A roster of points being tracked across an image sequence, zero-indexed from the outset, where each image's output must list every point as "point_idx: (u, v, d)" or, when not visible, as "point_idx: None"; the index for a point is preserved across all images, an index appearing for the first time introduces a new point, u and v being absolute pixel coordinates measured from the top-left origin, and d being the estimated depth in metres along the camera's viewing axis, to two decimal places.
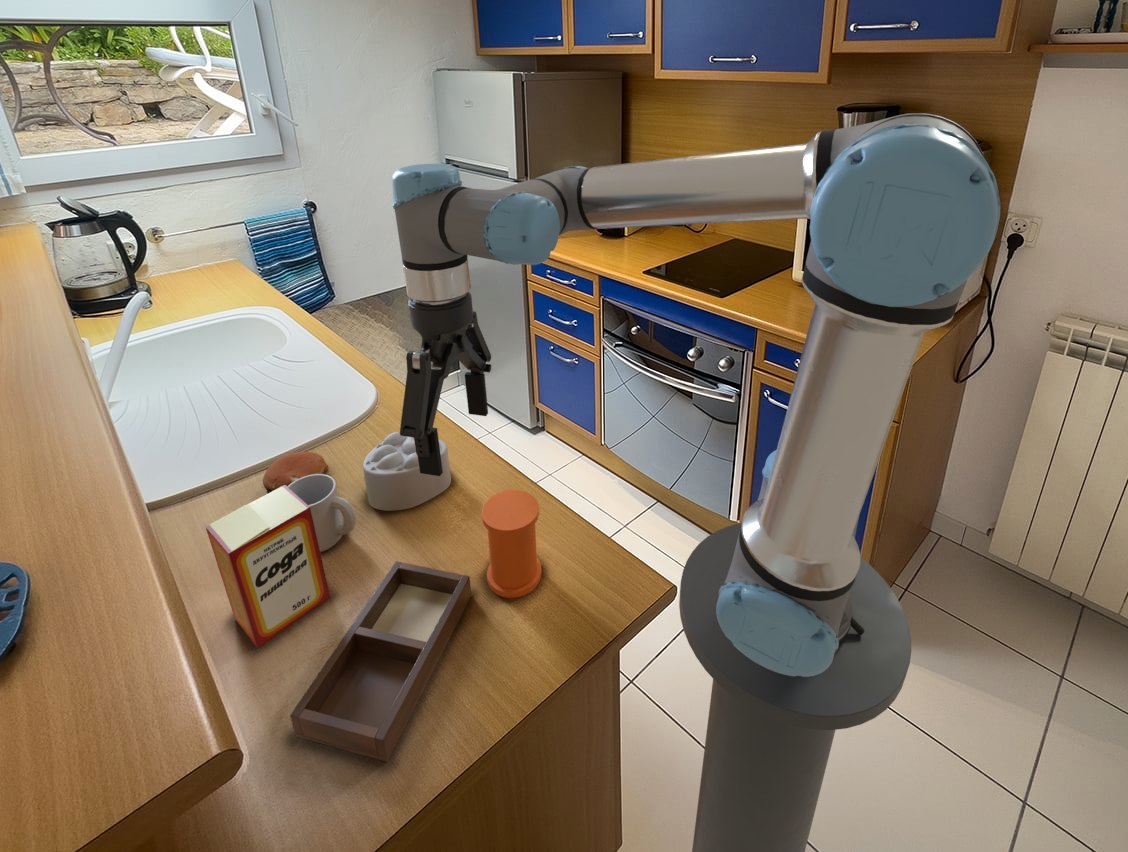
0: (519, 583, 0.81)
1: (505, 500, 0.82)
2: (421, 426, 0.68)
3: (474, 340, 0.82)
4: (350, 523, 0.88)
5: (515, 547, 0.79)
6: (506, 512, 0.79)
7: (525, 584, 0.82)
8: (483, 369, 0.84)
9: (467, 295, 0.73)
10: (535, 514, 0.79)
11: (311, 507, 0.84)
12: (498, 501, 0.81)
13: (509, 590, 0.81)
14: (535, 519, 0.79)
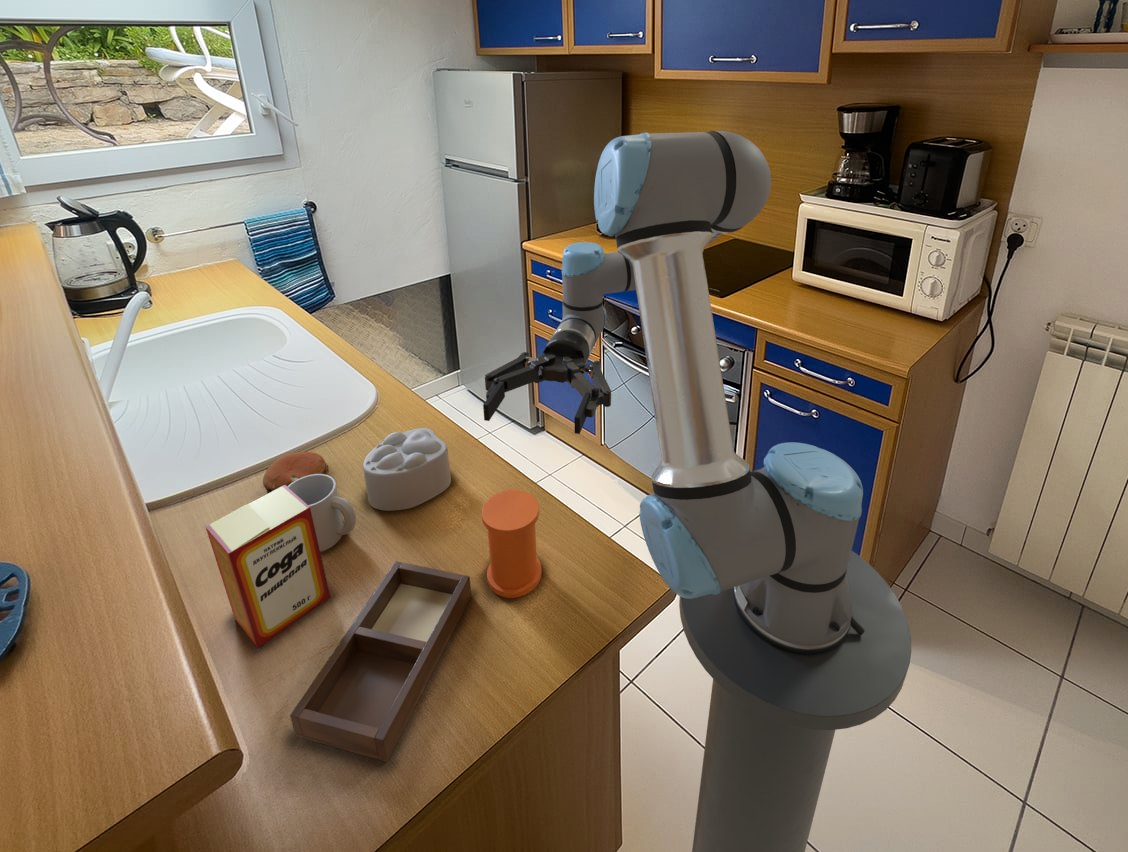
0: (519, 583, 0.81)
1: (505, 500, 0.82)
2: (491, 373, 0.94)
3: (595, 379, 0.94)
4: (350, 523, 0.88)
5: (515, 547, 0.79)
6: (506, 512, 0.79)
7: (525, 584, 0.82)
8: None
9: (574, 334, 1.03)
10: (535, 514, 0.79)
11: (311, 507, 0.84)
12: (498, 501, 0.81)
13: (509, 590, 0.81)
14: (535, 519, 0.79)
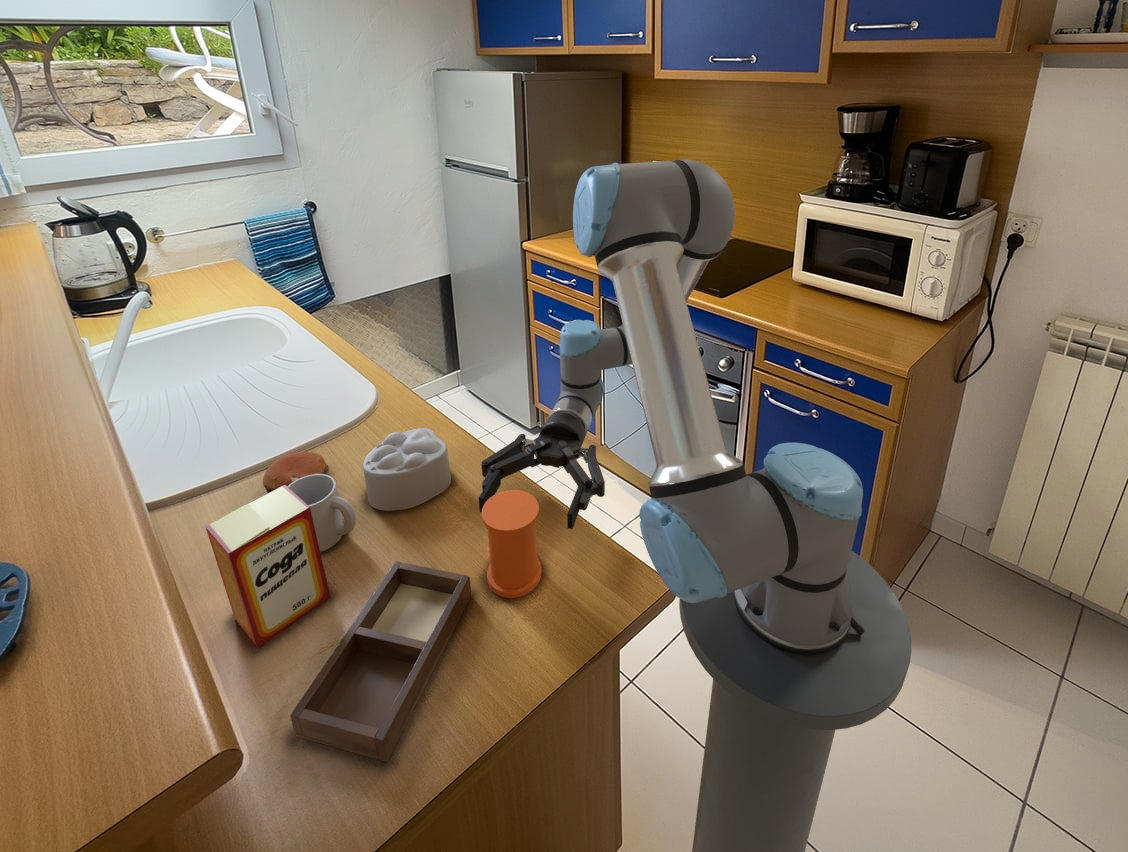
0: (519, 583, 0.81)
1: (505, 500, 0.82)
2: (488, 459, 0.96)
3: (590, 466, 0.96)
4: (350, 523, 0.88)
5: (515, 547, 0.79)
6: (506, 512, 0.79)
7: (525, 584, 0.82)
8: None
9: (571, 415, 1.04)
10: (535, 514, 0.79)
11: (311, 507, 0.84)
12: (498, 501, 0.81)
13: (509, 590, 0.81)
14: (535, 519, 0.79)
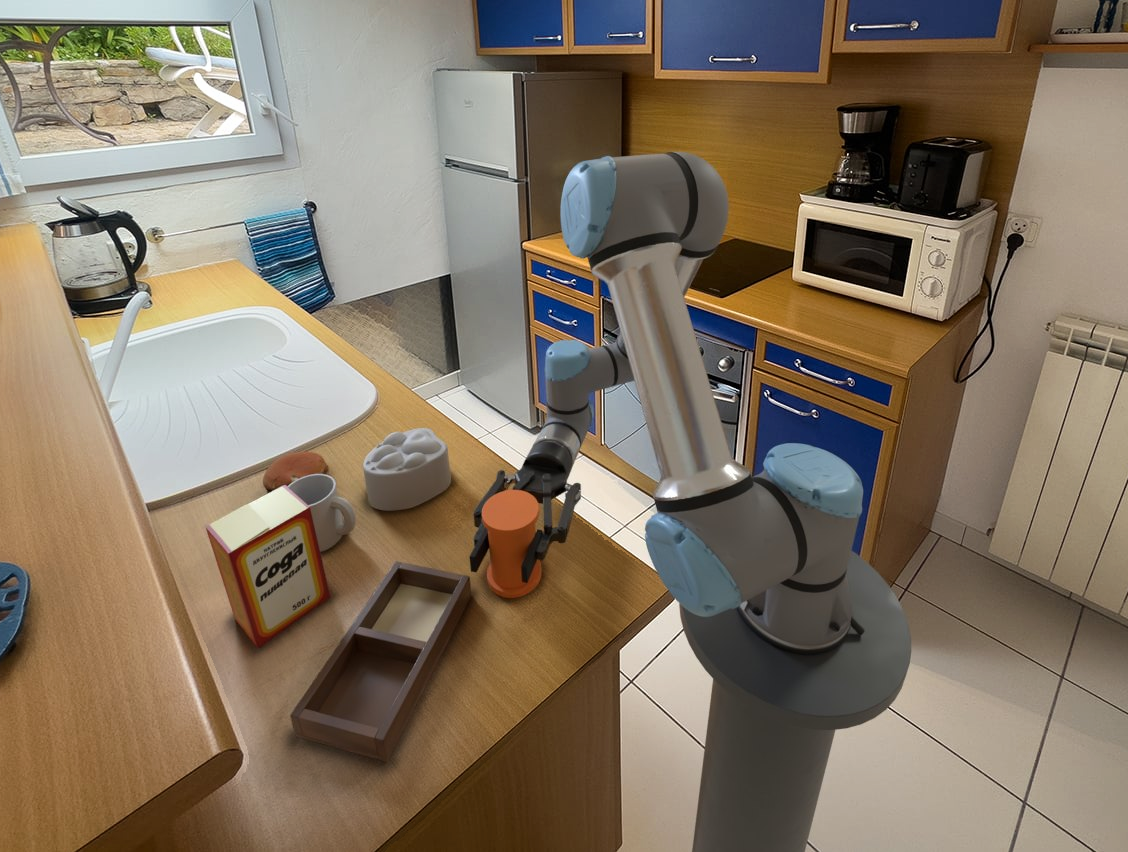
0: (519, 583, 0.81)
1: (505, 500, 0.82)
2: (479, 507, 0.86)
3: None
4: (350, 523, 0.88)
5: (515, 547, 0.79)
6: (506, 512, 0.79)
7: (525, 584, 0.82)
8: None
9: None
10: (535, 514, 0.79)
11: (311, 507, 0.84)
12: (498, 501, 0.81)
13: (509, 590, 0.81)
14: (535, 519, 0.79)
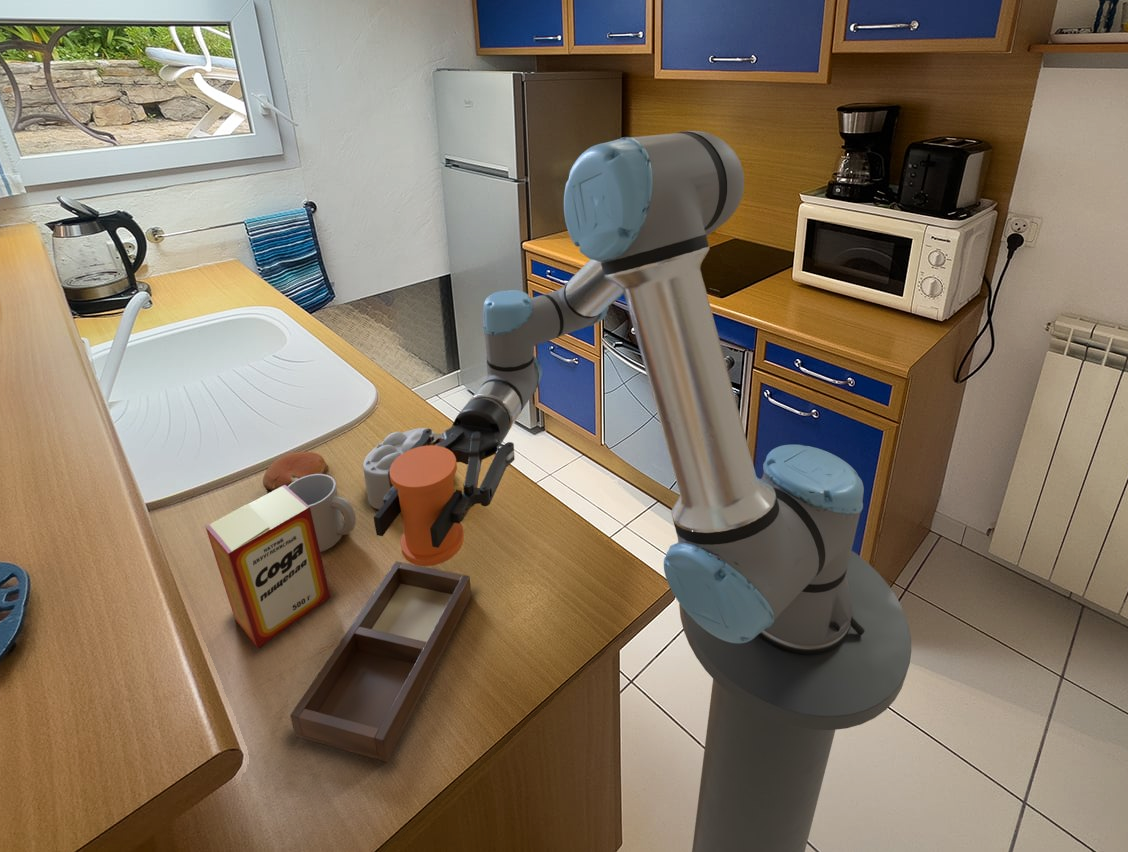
0: (434, 550, 0.72)
1: (419, 456, 0.72)
2: None
3: None
4: (350, 523, 0.88)
5: (426, 507, 0.69)
6: (418, 468, 0.70)
7: (442, 551, 0.72)
8: None
9: (492, 402, 0.87)
10: (450, 470, 0.70)
11: (311, 507, 0.84)
12: (411, 457, 0.72)
13: (423, 557, 0.72)
14: (450, 476, 0.69)
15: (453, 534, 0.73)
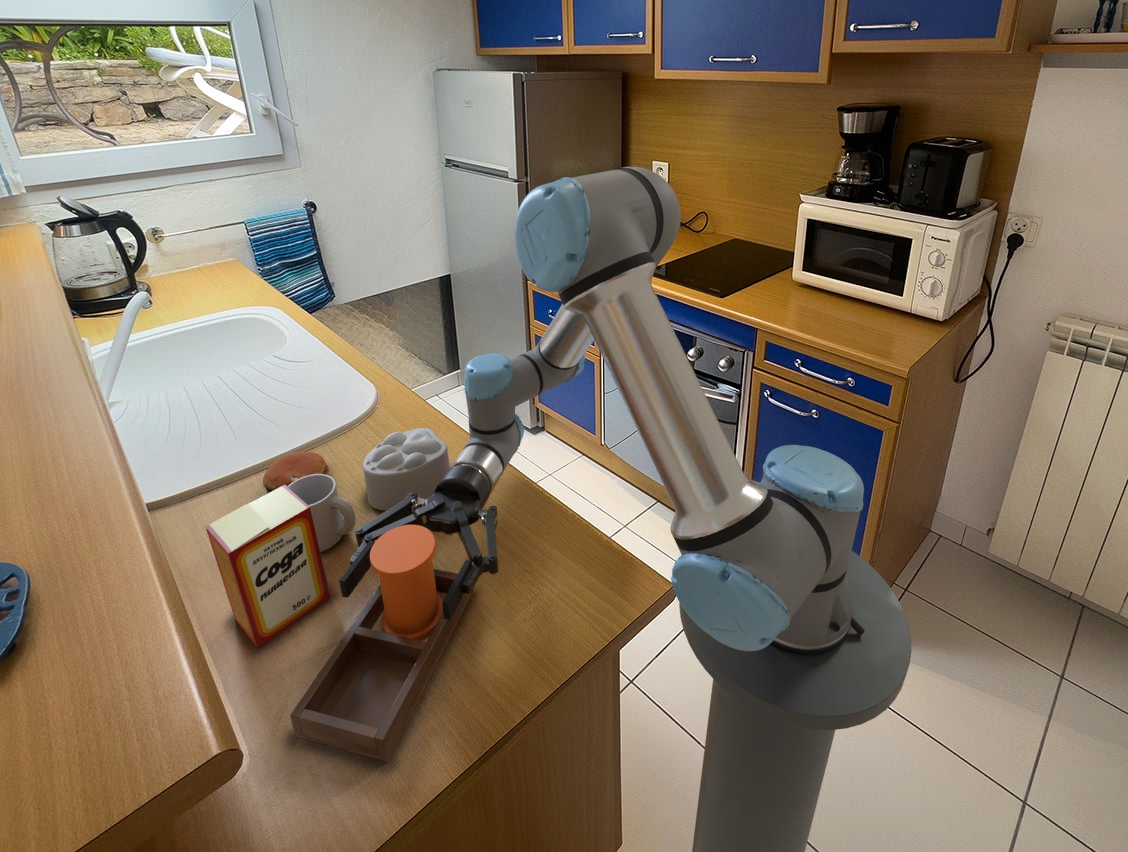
0: (414, 628, 0.74)
1: (399, 537, 0.74)
2: (364, 526, 0.81)
3: None
4: (350, 523, 0.88)
5: (405, 590, 0.71)
6: (397, 551, 0.72)
7: (421, 629, 0.75)
8: None
9: (473, 468, 0.89)
10: (429, 553, 0.72)
11: (311, 507, 0.84)
12: (391, 538, 0.74)
13: (403, 636, 0.74)
14: (428, 559, 0.72)
15: (433, 611, 0.75)
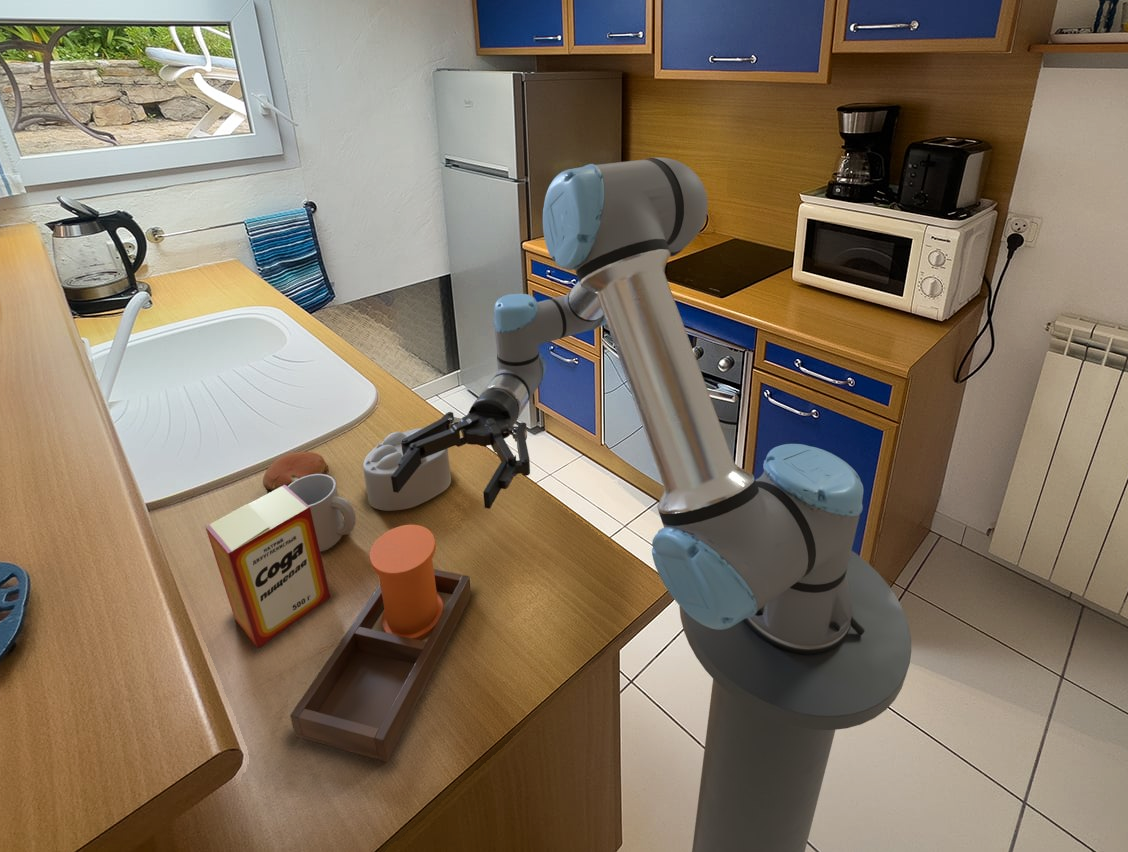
0: (414, 628, 0.74)
1: (399, 537, 0.74)
2: (409, 437, 0.90)
3: (517, 444, 0.90)
4: (350, 523, 0.88)
5: (405, 590, 0.71)
6: (397, 551, 0.72)
7: (421, 629, 0.75)
8: None
9: None
10: (429, 553, 0.72)
11: (311, 507, 0.84)
12: (391, 538, 0.74)
13: (403, 636, 0.74)
14: (428, 559, 0.72)
15: (433, 611, 0.75)
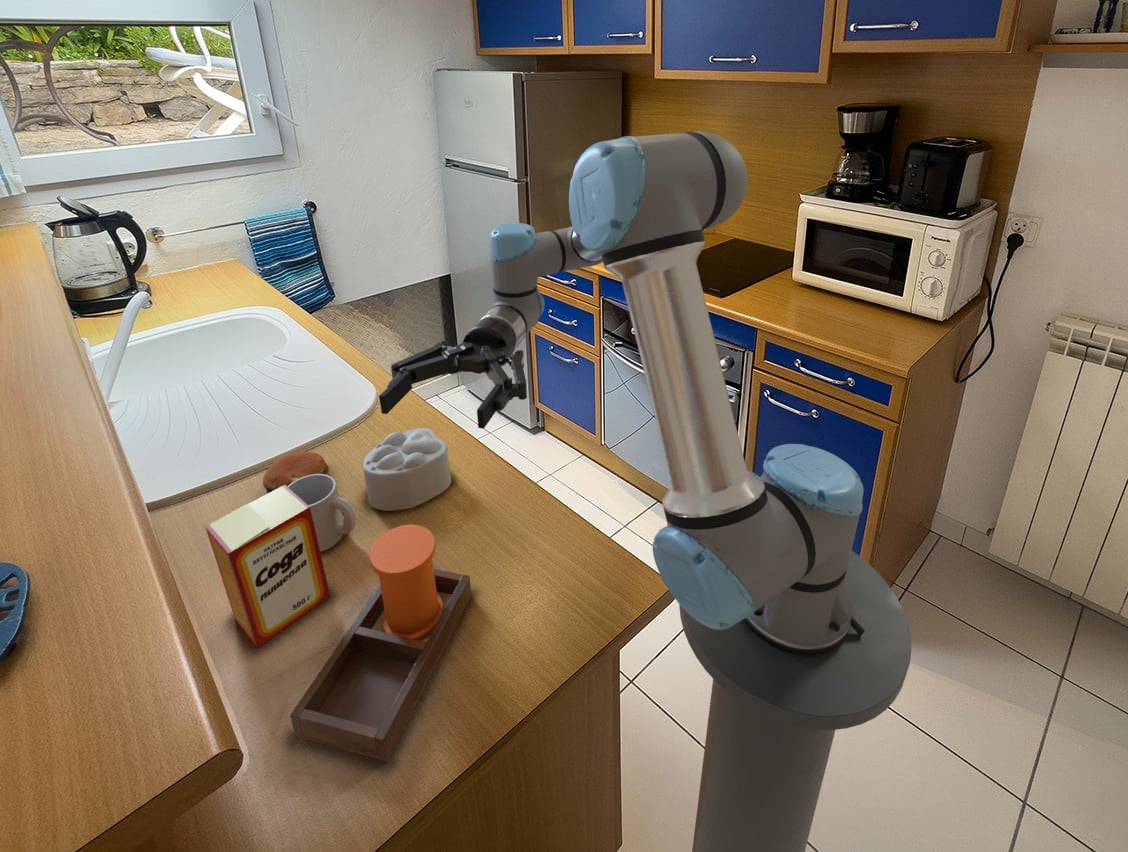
0: (414, 628, 0.74)
1: (399, 537, 0.74)
2: (399, 362, 0.85)
3: (514, 370, 0.85)
4: (350, 523, 0.88)
5: (405, 590, 0.71)
6: (397, 551, 0.72)
7: (421, 629, 0.75)
8: None
9: None
10: (429, 553, 0.72)
11: (311, 507, 0.84)
12: (391, 538, 0.74)
13: (403, 636, 0.74)
14: (428, 559, 0.72)
15: (433, 611, 0.75)
